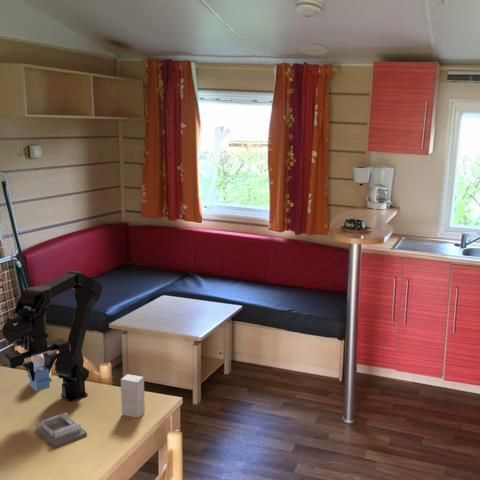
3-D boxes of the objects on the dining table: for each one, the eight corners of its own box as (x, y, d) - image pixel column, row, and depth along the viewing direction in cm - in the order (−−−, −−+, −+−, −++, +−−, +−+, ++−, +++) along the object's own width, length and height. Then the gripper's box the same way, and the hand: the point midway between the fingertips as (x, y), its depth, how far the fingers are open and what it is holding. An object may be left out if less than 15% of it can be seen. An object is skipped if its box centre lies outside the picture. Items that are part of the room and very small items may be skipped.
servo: (40, 380, 185) (39, 360, 183) (52, 389, 179) (50, 368, 178) (28, 384, 182) (26, 364, 181) (39, 393, 176) (38, 372, 175)
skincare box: (145, 412, 186) (144, 376, 184) (138, 418, 182) (137, 382, 180) (128, 408, 188) (127, 373, 185) (121, 415, 184) (120, 379, 182)
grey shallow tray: (67, 419, 181) (67, 409, 180) (87, 435, 172) (86, 424, 172) (36, 431, 174) (35, 420, 174) (54, 448, 166) (53, 436, 165)
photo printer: (46, 387, 202) (44, 353, 199) (33, 387, 201) (30, 353, 199) (52, 374, 212) (51, 341, 209) (40, 374, 211) (38, 341, 209)
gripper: (53, 316, 189) (56, 362, 192) (-6, 330, 176) (-2, 379, 180) (70, 325, 181) (72, 373, 184) (9, 341, 168) (13, 391, 172)
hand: (39, 378), depth 180 cm, fingers closed on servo, 4 cm apart
